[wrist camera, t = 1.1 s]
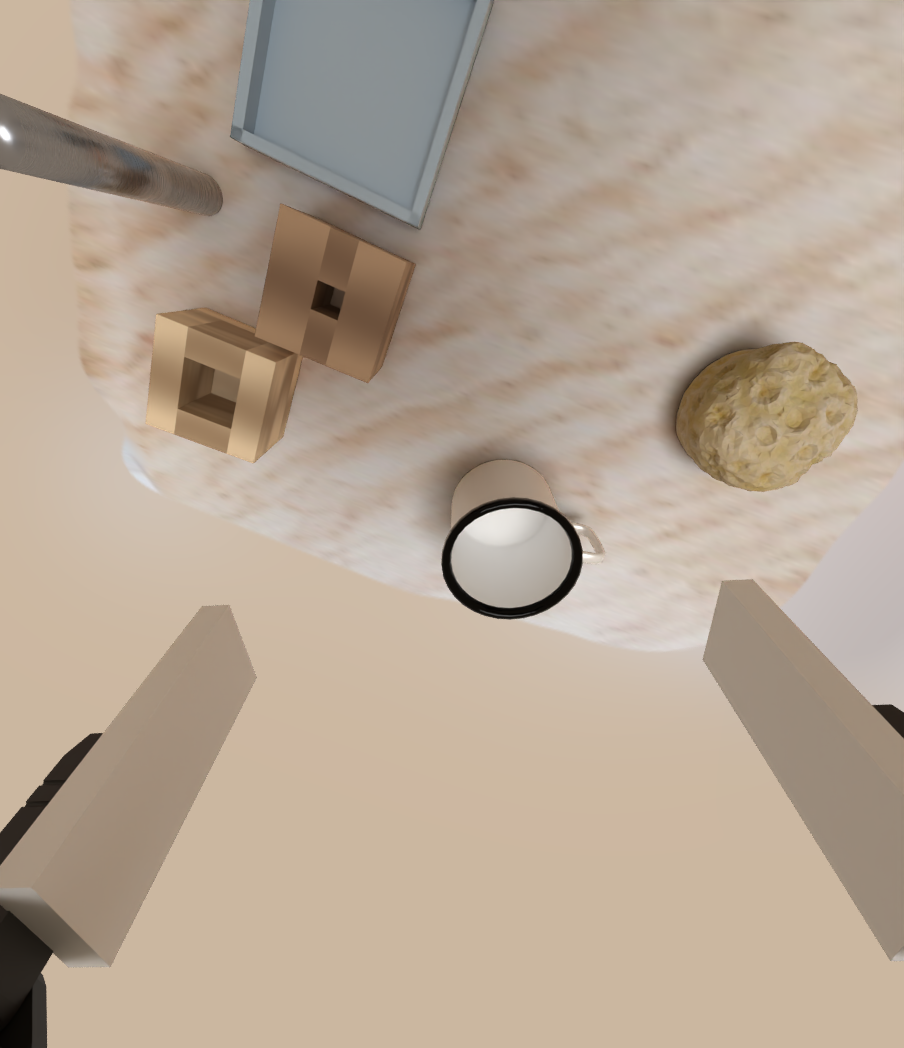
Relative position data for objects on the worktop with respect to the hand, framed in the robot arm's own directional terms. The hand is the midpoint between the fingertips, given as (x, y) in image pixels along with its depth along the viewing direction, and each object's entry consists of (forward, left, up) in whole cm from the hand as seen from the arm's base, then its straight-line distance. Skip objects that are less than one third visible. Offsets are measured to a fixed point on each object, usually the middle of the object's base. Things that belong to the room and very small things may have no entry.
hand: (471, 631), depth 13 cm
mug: (+6, +7, -25) cm, 27 cm away
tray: (-15, -13, -25) cm, 32 cm away
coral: (-8, +18, -25) cm, 32 cm away
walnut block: (-4, -10, -25) cm, 27 cm away
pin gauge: (-6, -20, -25) cm, 33 cm away
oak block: (+4, -16, -25) cm, 30 cm away
